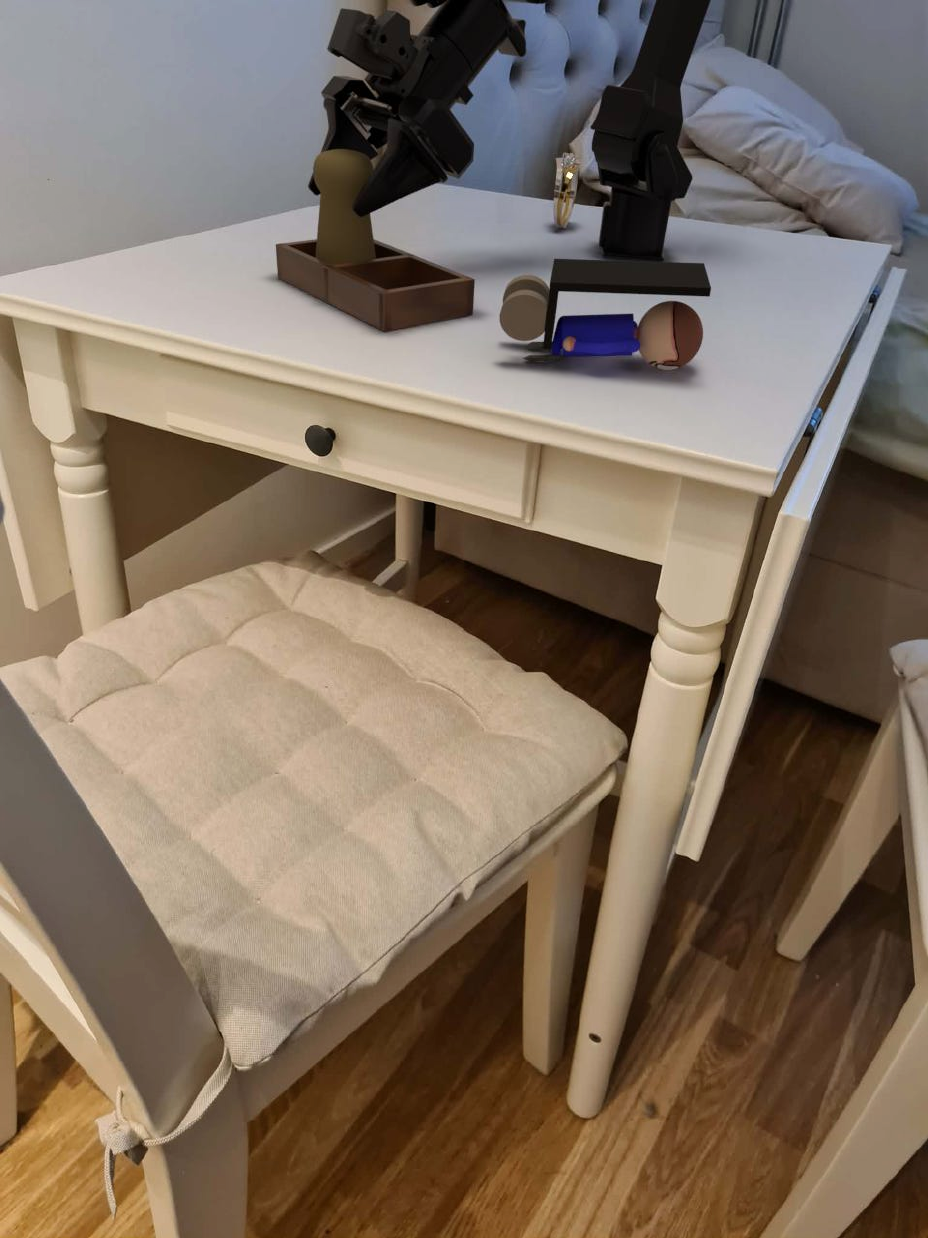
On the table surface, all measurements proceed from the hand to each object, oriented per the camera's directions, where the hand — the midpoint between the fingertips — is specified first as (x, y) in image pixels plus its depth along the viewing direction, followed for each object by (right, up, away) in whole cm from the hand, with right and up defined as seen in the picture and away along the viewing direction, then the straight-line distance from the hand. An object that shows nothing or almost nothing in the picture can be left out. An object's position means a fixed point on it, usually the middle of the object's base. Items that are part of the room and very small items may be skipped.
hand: (332, 201), depth 77 cm
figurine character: (+22, -17, -9) cm, 29 cm away
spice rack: (+3, -7, +2) cm, 8 cm away
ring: (+23, +10, +29) cm, 38 cm away
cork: (+1, -6, +5) cm, 7 cm away
